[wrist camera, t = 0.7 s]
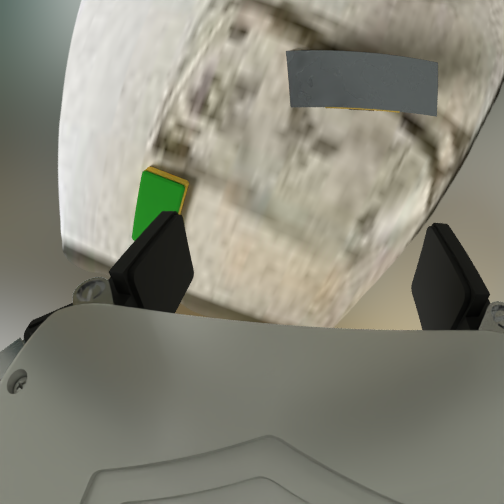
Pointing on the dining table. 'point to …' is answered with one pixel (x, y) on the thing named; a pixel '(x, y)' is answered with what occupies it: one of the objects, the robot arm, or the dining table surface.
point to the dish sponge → (157, 197)
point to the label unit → (362, 81)
